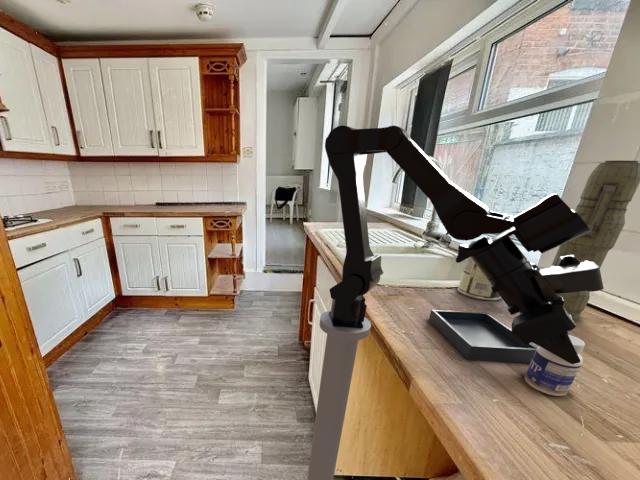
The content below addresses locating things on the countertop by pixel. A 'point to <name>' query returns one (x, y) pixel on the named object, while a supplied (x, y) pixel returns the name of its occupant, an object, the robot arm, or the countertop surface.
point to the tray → (481, 336)
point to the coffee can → (475, 282)
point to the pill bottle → (553, 370)
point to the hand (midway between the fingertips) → (573, 354)
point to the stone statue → (600, 220)
